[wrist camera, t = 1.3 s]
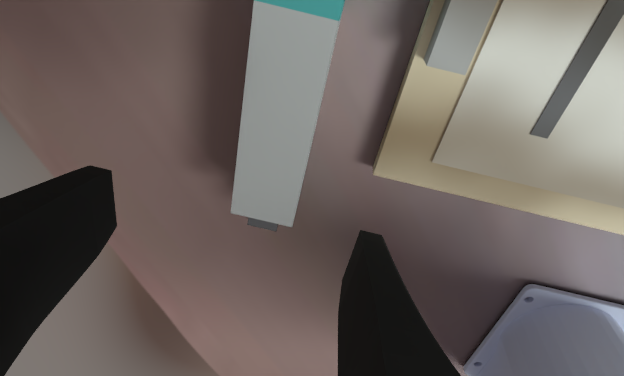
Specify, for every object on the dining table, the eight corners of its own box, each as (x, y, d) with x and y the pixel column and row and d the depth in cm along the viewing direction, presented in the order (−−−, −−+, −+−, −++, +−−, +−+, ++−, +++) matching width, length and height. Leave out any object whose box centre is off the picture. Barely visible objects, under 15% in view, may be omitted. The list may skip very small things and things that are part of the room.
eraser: (295, 213, 22) (288, 244, 20) (242, 200, 22) (228, 230, 20) (362, -74, 15) (362, -77, 12) (280, -94, 15) (264, -102, 12)
